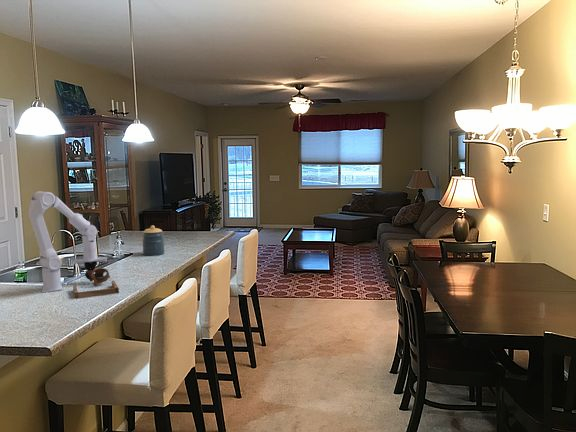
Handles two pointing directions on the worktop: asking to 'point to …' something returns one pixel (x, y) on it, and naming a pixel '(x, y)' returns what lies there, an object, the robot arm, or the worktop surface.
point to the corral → (96, 291)
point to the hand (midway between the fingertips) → (91, 277)
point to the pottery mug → (97, 275)
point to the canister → (153, 242)
